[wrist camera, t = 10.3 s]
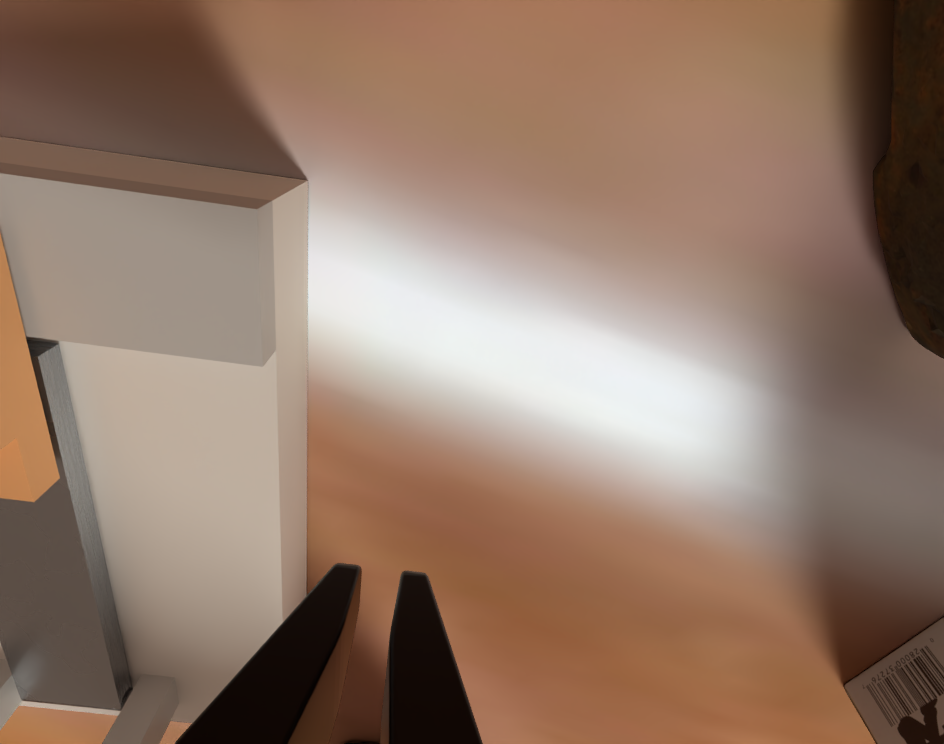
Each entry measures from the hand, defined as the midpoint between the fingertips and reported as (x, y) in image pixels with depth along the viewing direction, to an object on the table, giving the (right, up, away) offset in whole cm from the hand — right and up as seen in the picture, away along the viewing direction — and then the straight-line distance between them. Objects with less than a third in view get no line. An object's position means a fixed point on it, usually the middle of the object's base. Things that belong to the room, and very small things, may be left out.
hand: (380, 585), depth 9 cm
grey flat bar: (-12, -2, +9) cm, 15 cm away
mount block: (-12, +1, +11) cm, 16 cm away
